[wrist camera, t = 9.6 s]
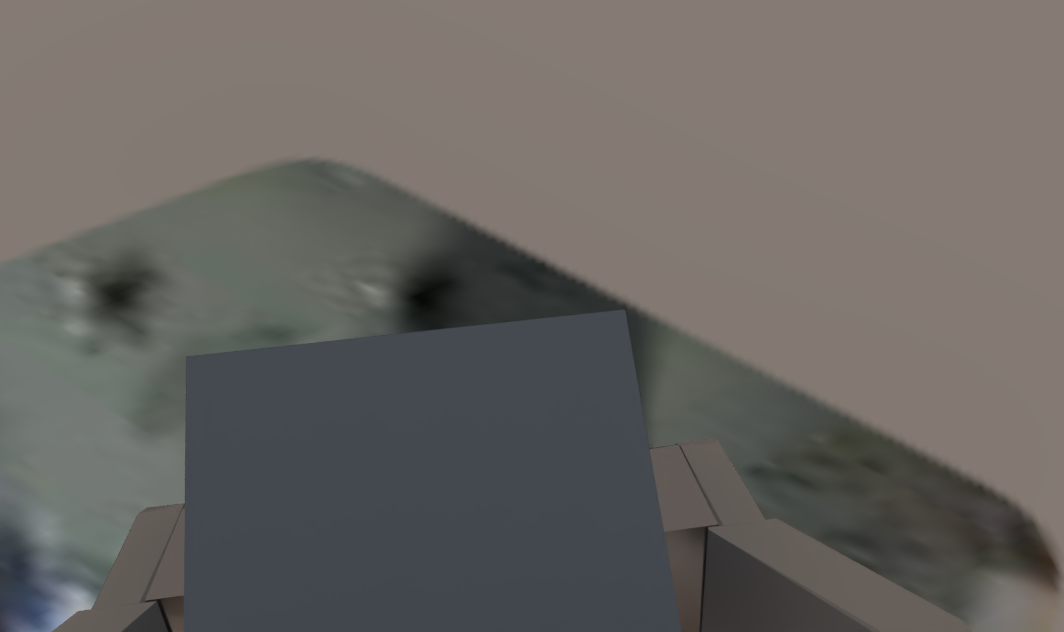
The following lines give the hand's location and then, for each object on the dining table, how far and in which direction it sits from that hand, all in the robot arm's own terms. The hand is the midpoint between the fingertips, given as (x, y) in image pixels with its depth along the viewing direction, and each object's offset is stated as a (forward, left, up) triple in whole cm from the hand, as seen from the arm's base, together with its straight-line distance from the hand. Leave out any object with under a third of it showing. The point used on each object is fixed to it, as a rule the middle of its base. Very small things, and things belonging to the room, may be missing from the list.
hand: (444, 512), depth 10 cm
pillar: (0, 0, -5) cm, 5 cm away
